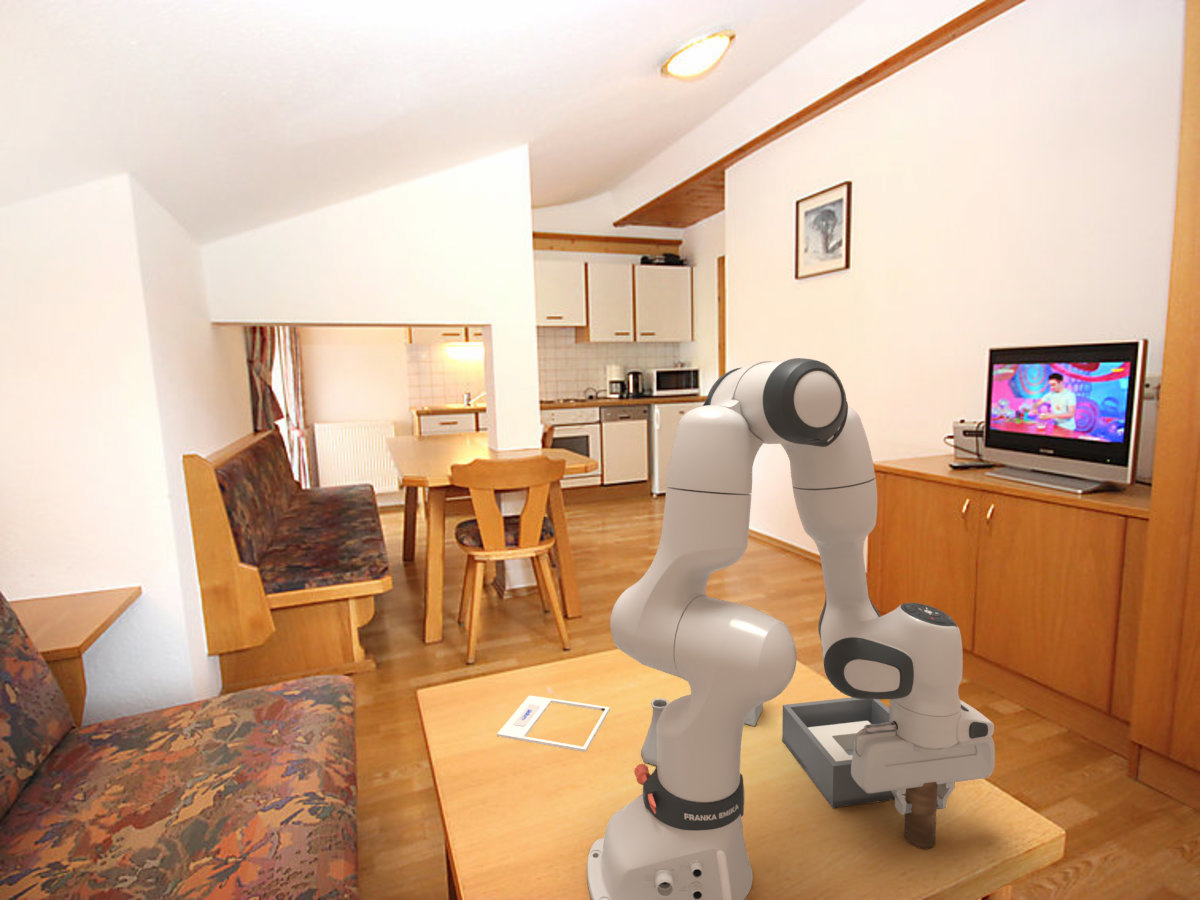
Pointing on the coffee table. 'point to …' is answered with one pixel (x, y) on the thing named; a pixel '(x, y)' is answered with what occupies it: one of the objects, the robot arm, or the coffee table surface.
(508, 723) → the photo frame
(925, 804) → the peg
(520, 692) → the coffee table surface
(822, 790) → the bin
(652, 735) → the flask
